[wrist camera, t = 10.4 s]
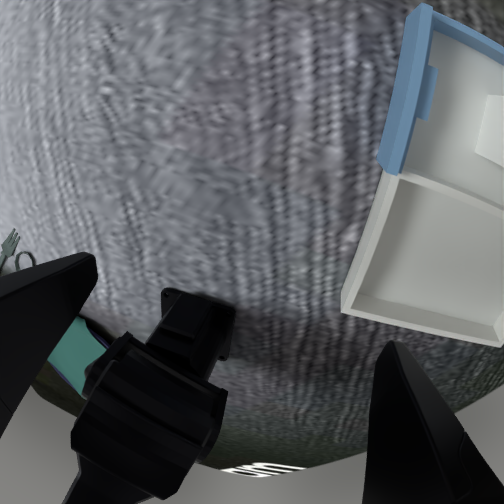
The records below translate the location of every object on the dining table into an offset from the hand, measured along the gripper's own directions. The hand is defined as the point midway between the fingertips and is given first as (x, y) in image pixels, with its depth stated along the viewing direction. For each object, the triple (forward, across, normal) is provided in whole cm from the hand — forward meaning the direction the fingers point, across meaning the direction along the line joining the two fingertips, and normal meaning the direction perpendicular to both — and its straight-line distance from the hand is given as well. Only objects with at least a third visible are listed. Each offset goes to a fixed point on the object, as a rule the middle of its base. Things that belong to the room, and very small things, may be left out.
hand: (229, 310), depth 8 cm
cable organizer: (+12, -13, -3) cm, 18 cm away
